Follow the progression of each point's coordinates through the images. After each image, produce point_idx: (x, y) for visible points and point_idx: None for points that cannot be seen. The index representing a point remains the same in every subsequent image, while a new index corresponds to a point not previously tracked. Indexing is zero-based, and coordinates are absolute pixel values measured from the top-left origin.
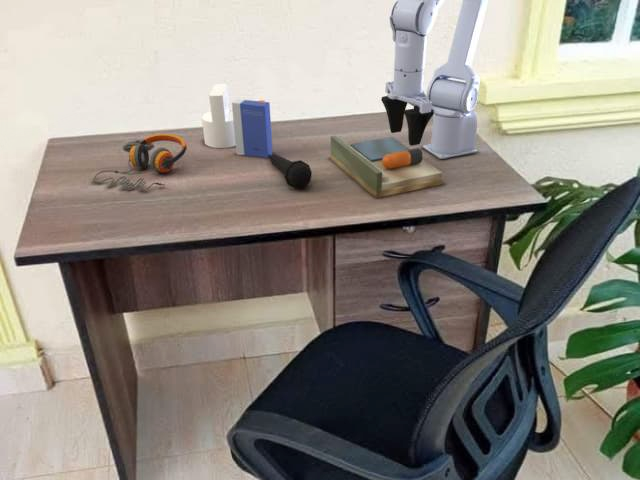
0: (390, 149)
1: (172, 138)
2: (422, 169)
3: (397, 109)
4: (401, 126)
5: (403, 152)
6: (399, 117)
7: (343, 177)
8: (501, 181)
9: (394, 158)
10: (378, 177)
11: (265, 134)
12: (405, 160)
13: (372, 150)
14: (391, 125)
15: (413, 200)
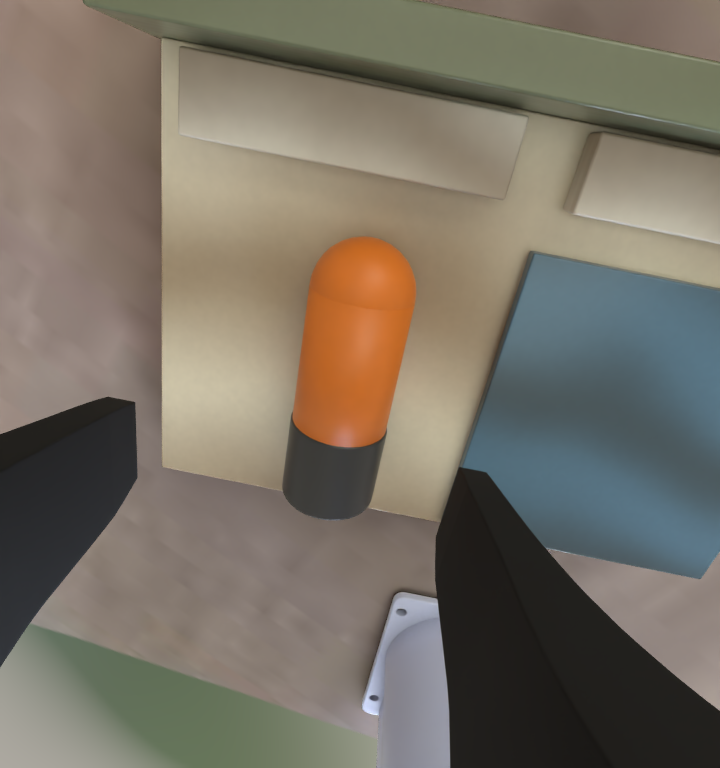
0: (567, 459)
1: None
2: (244, 421)
3: (486, 731)
4: (438, 575)
5: (330, 409)
6: (462, 643)
7: (598, 16)
8: (104, 600)
9: (313, 311)
10: None
11: None
12: (297, 378)
13: (649, 367)
14: (475, 508)
15: (70, 195)
